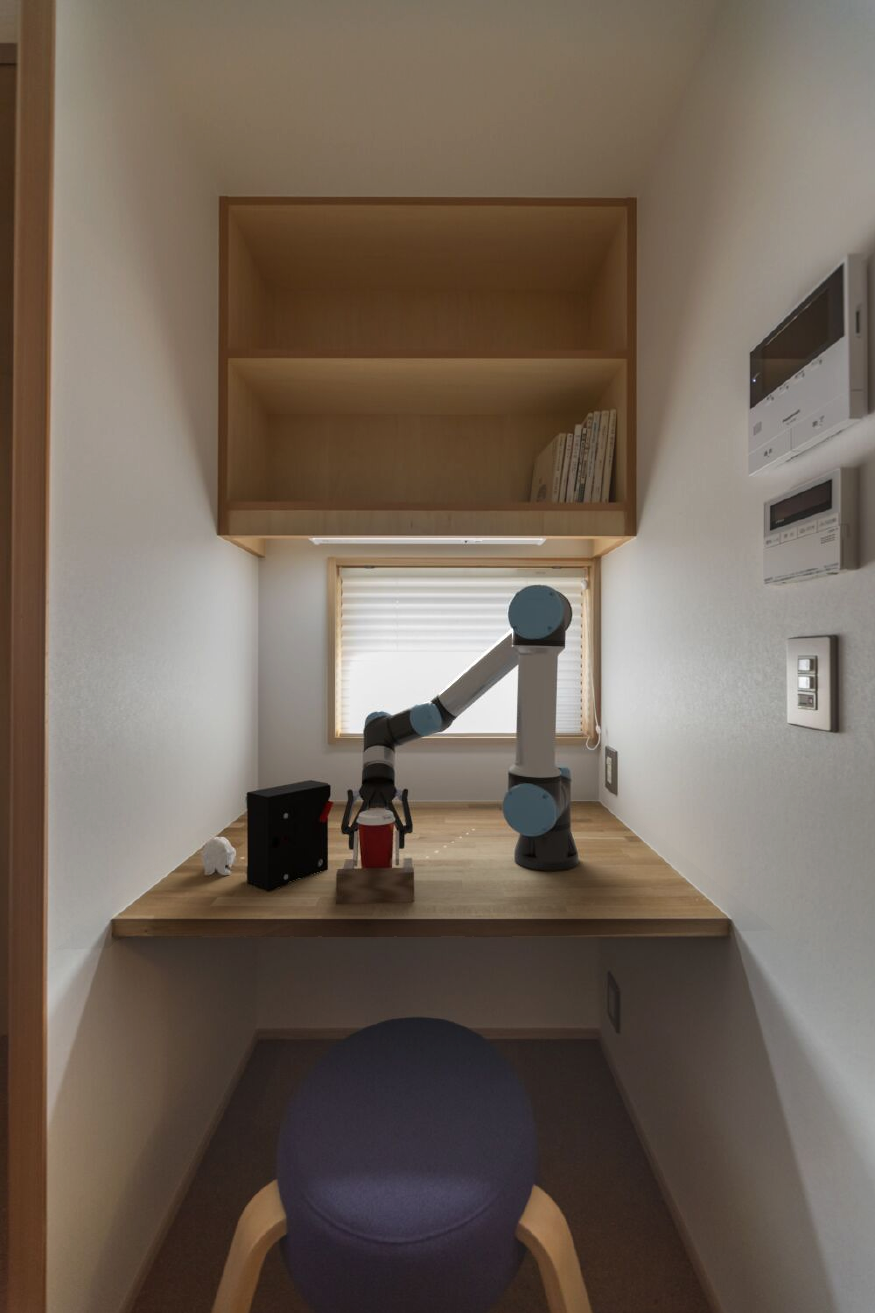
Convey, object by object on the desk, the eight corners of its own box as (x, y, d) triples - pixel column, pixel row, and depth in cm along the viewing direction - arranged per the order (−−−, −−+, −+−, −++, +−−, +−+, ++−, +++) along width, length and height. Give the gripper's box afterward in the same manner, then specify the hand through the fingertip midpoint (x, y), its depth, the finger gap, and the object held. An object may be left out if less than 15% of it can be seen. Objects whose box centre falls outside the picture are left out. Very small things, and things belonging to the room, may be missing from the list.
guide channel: (412, 866, 154) (412, 841, 154) (414, 902, 132) (414, 872, 132) (345, 867, 153) (345, 842, 153) (336, 903, 131) (336, 873, 131)
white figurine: (199, 839, 146) (218, 830, 158) (198, 878, 145) (216, 866, 157) (227, 839, 146) (244, 830, 158) (226, 879, 145) (243, 866, 157)
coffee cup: (404, 883, 139) (403, 812, 139) (375, 894, 133) (374, 820, 133) (378, 874, 145) (377, 806, 145) (349, 884, 139) (347, 813, 139)
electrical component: (305, 862, 157) (304, 778, 157) (333, 871, 151) (333, 784, 151) (241, 882, 144) (241, 790, 144) (270, 892, 137) (269, 797, 137)
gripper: (423, 779, 155) (426, 870, 139) (334, 780, 154) (326, 872, 138) (423, 760, 150) (427, 852, 134) (331, 761, 148) (323, 854, 132)
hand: (376, 862), depth 136 cm, fingers closed on coffee cup, 8 cm apart
